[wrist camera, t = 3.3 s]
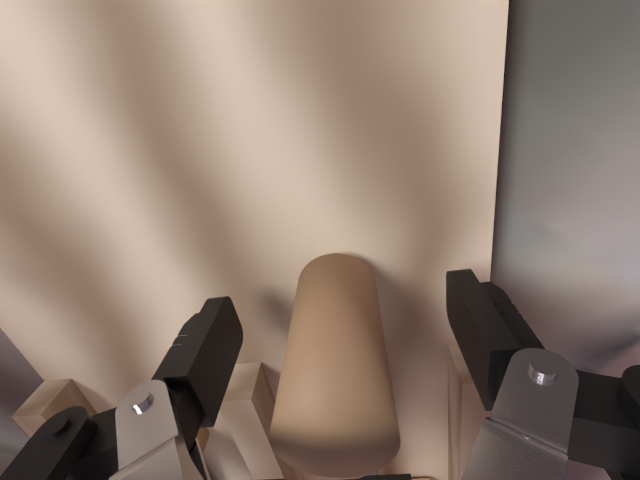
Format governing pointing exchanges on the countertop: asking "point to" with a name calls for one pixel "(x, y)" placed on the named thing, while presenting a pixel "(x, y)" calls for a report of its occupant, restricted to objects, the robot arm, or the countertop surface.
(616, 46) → the countertop surface
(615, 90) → the countertop surface
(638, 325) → the countertop surface
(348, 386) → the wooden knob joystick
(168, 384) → the robot arm
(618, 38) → the countertop surface
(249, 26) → the wooden backboard
